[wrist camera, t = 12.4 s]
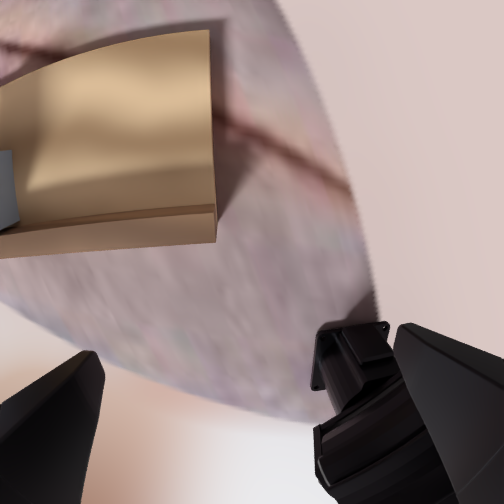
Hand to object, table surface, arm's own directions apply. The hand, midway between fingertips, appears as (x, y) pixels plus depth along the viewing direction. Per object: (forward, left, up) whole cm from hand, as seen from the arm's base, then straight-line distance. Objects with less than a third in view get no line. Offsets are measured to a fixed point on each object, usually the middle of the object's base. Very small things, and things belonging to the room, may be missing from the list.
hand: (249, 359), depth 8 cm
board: (+7, +11, -12) cm, 18 cm away
